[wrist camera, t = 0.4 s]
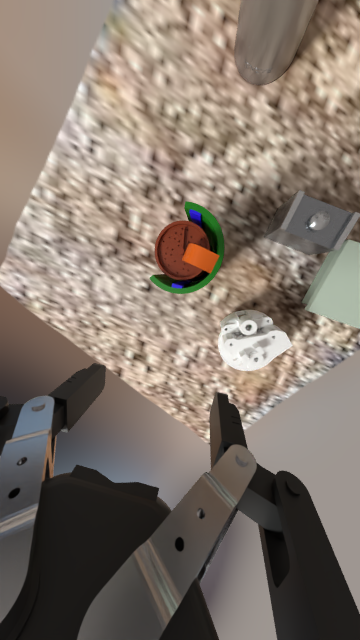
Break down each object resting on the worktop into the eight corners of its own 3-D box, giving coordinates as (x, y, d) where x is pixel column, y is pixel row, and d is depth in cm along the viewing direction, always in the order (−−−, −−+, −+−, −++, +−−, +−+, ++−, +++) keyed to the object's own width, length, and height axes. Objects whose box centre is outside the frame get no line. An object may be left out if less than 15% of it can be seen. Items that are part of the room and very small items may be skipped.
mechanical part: (221, 361, 41) (228, 396, 29) (210, 312, 38) (213, 330, 27) (273, 353, 39) (301, 387, 27) (265, 300, 36) (293, 314, 25)
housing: (277, 208, 32) (300, 189, 24) (324, 227, 31) (362, 213, 24) (263, 237, 33) (281, 227, 26) (308, 255, 33) (339, 250, 25)
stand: (327, 244, 32) (348, 239, 27) (392, 265, 32) (425, 264, 27) (294, 305, 35) (308, 310, 31) (352, 325, 35) (375, 334, 30)
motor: (179, 227, 34) (148, 173, 15) (223, 239, 34) (249, 198, 15) (167, 279, 37) (129, 287, 18) (208, 290, 37) (213, 311, 18)
